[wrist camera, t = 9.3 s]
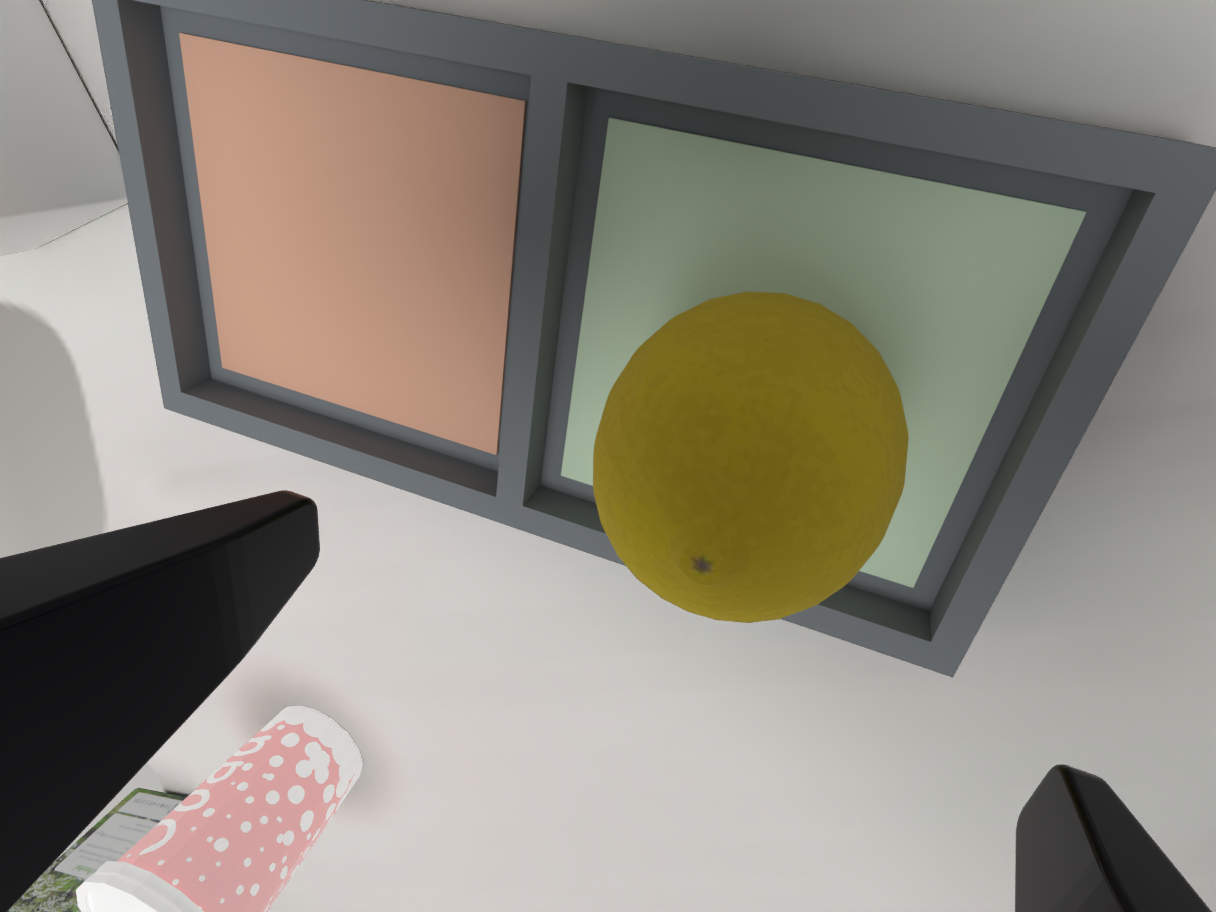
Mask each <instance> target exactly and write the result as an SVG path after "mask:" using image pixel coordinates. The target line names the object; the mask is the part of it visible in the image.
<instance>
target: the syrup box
mask: <svg viewBox="0 0 1216 912" xmlns="http://www.w3.org/2000/svg"><path fill="white" fill-rule="evenodd" d="M186 798H187V797H184V796H179V795H174V794H169V793H163V792H157V791H152V790H147V789H142V788H137V789H135V790H134V791H132V792H131V793H130V794H129V795H128V796H127V797H126V798H124V799H123V800H122V801H121V802H120V803H119V804H118V805H117V806H115V807H114V808H113V809H112V810H111V811H110V812H109V813H108V814H107V815H106V816H105V817H103V819H101V820H100V821H99V822H98V823H97V824H96V825H95V826H94V827H92V828H91V829H90V830H89V831H88V832H87V833H86V834H85V835H84V836H82V837H81V838H80V839H79V840H78V841H77V842H76V843H75V844H74V845H73V846H71V847H70V848H69V849H68V850H67V851H66V852H65V853H64V854H63V855H62V856H61V857H60V858H58V859H57V860H56V861H55V862H54V863H53V864H52V865H51V866H50V867H49V868H48V869H47V870H46V871H45V872H44V873H43V874H42V875H41V876H40V877H39V878H38V880H37V881H36V882H35V883H34V884H33V885H32V886H31V887H30V888H29V889H28V890H27V891H26V892H25V893H24V895H23V896H22V897H21V898H20V899H19V900H18V901H17V902H16V903H15V904H14V905H13V906H12V907H11V908H10V909H9V911H8V912H81V910H80V909H79V907H78V903H77V896H76V889H77V888H78V887H79V886H80V885H81V884H82V883H83V882H84V881H86V880H87V879H88V878H89V877H90V876H91V875H92V874H95V872H96V871H97V870H98V869H99V868H100V867H101V866H102V865H103V864H104V863H105V862H106V861H111V862H116V861H118V860H119V859H120V858H121V857H122V856H123V855H124V854H125V853H126V852H127V851H129V850H130V849H131V848H132V847H133V846H134V845H135V844H136V843H137V842H138V841H140V840H141V839H142V838H143V837H144V836H145V835H146V834H147V833H148V832H149V831H150V830H152V829H153V828H154V827H155V826H156V825H157V824H158V823H159V822H160V821H161V820H163V819H164V818H165V817H166V816H167V815H168V814H169V813H170V812H171V811H172V810H174V809H175V808H176V807H177V806H178V805H179V804H180V803H181V802H182V801H183V800H184V799H186Z"/></svg>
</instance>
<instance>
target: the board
mask: <svg viewBox="0 0 1216 912" xmlns="http://www.w3.org/2000/svg"><path fill="white" fill-rule="evenodd" d="M92 4H93V9H94V15H95V20H96V26H97V32H98V37H99V43H100V49H101V54H102V60H103V66H104V71H105V77H106V83H107V88H108V94H109V99H110V105H111V111H112V116H113V122H114V128H115V133H116V139H117V145H118V150H119V156H120V162H121V167H122V173H123V178H124V184H125V190H126V195H127V201H128V207H129V212H130V218H131V224H132V229H133V235H134V241H135V246H136V252H137V258H138V263H139V269H140V274H141V280H142V286H143V291H144V297H145V303H146V308H147V314H148V320H149V325H150V331H151V337H152V342H153V348H154V353H155V359H156V365H157V370H158V376H159V382H160V387H161V393H162V399H163V404H164V408H165V409H168V410H171V411H174V412H177V413H180V414H183V415H186V416H188V417H191V418H194V419H197V420H200V421H203V422H206V423H209V424H212V425H215V426H218V427H221V428H224V429H227V430H229V431H232V432H235V433H238V434H241V435H244V436H247V437H250V438H253V439H256V440H259V441H262V442H265V443H268V444H270V445H273V446H276V447H279V448H282V449H285V450H288V451H291V452H294V453H297V454H300V455H303V456H306V457H309V458H312V459H314V460H317V461H320V462H323V463H326V464H329V465H332V466H335V467H338V468H341V469H344V470H347V471H350V472H353V473H355V474H358V475H361V476H364V477H367V478H370V479H373V480H376V481H379V482H382V483H385V484H388V485H391V486H394V487H396V488H399V489H402V490H405V491H408V492H411V493H414V494H417V495H420V496H423V497H426V498H429V499H432V500H435V501H437V502H440V503H443V504H446V505H449V506H452V507H455V508H458V509H461V510H464V511H467V512H470V513H473V514H476V515H478V516H481V517H484V518H487V519H490V520H493V521H496V522H499V523H502V524H505V525H508V526H511V527H514V528H517V529H519V530H522V531H525V532H528V533H531V534H534V535H537V536H540V537H543V538H546V539H549V540H552V541H555V542H558V543H560V544H563V545H566V546H569V547H572V548H575V549H578V550H581V551H584V552H587V553H590V554H593V555H596V556H599V557H602V558H604V559H607V560H610V561H613V562H616V563H619V564H622V565H625V564H624V563H623V562H622V560H621V559H620V558H619V557H618V555H617V553H616V551H615V550H614V548H613V546H612V544H611V542H610V540H609V538H608V536H607V534H606V533H605V531H604V528H603V526H602V524H601V521H600V517H599V513H598V509H597V505H596V501H595V497H594V490H593V452H594V443H595V438H596V434H597V431H598V427H599V424H600V421H601V417H602V414H603V410H604V407H605V404H606V401H607V398H608V395H609V392H610V390H611V389H612V387H613V385H614V383H615V382H616V380H617V378H618V377H619V375H620V374H621V372H622V371H623V369H624V368H625V366H626V365H627V363H628V362H629V360H630V358H631V357H632V355H633V354H634V353H635V351H636V350H637V349H638V348H639V347H640V346H641V345H642V344H643V343H644V342H645V341H646V340H647V339H648V338H650V337H651V336H652V335H653V334H654V333H655V332H656V331H658V330H659V329H660V328H661V327H662V326H663V325H664V324H665V323H667V322H668V321H669V320H670V319H672V318H673V317H675V316H677V315H679V314H681V313H683V312H685V311H687V310H689V309H691V308H693V307H695V306H697V305H699V304H701V303H703V302H705V301H707V300H710V299H713V298H717V297H722V296H727V295H732V294H737V293H742V292H747V291H749V292H770V293H786V294H789V295H792V296H796V297H799V298H802V299H806V300H809V301H813V302H816V303H819V304H821V305H823V306H824V307H826V308H828V309H829V310H831V311H833V312H834V313H836V314H838V315H839V316H841V317H842V318H844V319H846V320H847V321H849V322H851V323H852V324H853V325H854V326H855V327H856V328H857V329H858V330H859V331H860V332H861V333H862V334H863V335H864V336H865V337H866V338H867V339H868V341H869V342H870V343H871V344H872V345H873V346H874V347H875V348H876V349H877V350H878V352H879V353H880V355H881V356H882V358H883V360H884V362H885V364H886V366H887V368H888V369H889V371H890V373H891V375H892V377H893V379H894V380H895V382H896V384H897V386H898V388H899V391H900V395H901V400H902V404H903V409H904V414H905V419H906V424H907V428H908V436H909V441H908V452H907V462H906V473H905V484H904V488H903V492H902V495H901V497H900V500H899V502H898V505H897V507H896V509H895V512H894V514H893V517H892V519H891V522H890V524H889V526H888V529H887V531H886V534H885V536H884V538H883V540H882V541H881V543H880V545H879V546H878V548H877V549H876V550H875V552H874V553H873V554H872V556H871V557H870V558H869V559H868V560H867V562H866V563H865V564H864V565H863V567H862V568H861V569H860V570H859V571H858V573H857V574H856V575H855V576H854V577H853V579H852V580H851V581H850V582H848V583H847V584H846V585H845V586H844V587H843V588H841V589H840V590H838V591H837V592H835V593H834V594H832V595H831V596H829V597H828V598H826V599H825V600H823V601H822V602H820V603H819V604H818V605H816V606H813V607H811V608H808V609H805V610H803V611H800V612H797V613H794V614H792V615H789V616H786V617H784V618H781V619H783V620H786V621H789V622H792V623H795V624H798V625H801V626H804V627H807V628H809V629H812V630H815V631H818V632H821V633H824V634H827V635H830V636H833V637H836V638H839V639H842V640H845V641H848V642H850V643H853V644H856V645H859V646H862V647H865V648H868V649H871V650H874V651H877V652H880V653H883V654H886V655H889V656H891V657H894V658H897V659H900V660H903V661H906V662H909V663H912V664H915V665H918V666H921V667H924V668H927V669H930V670H933V671H935V672H938V673H941V674H944V675H947V676H950V677H953V676H954V674H955V672H956V671H957V669H958V667H959V665H960V663H961V661H962V659H963V658H964V656H965V654H966V652H967V650H968V648H969V647H970V645H971V643H972V641H973V639H974V637H975V635H976V634H977V632H978V630H979V628H980V626H981V624H982V622H983V621H984V619H985V617H986V615H987V613H988V611H989V609H990V608H991V606H992V604H993V602H994V600H995V598H996V596H997V595H998V593H999V591H1000V589H1001V587H1002V585H1003V583H1004V582H1005V580H1006V578H1007V576H1008V574H1009V572H1010V570H1011V569H1012V567H1013V565H1014V563H1015V561H1016V559H1017V558H1018V556H1019V554H1020V552H1021V550H1022V548H1023V546H1024V545H1025V543H1026V541H1027V539H1028V537H1029V535H1030V533H1031V532H1032V530H1033V528H1034V526H1035V524H1036V522H1037V520H1038V519H1039V517H1040V515H1041V513H1042V511H1043V509H1044V507H1045V506H1046V504H1047V502H1048V500H1049V498H1050V496H1051V494H1052V493H1053V491H1054V489H1055V487H1056V485H1057V483H1058V482H1059V480H1060V478H1061V476H1062V474H1063V472H1064V470H1065V469H1066V467H1067V465H1068V463H1069V461H1070V459H1071V457H1072V456H1073V454H1074V452H1075V450H1076V448H1077V446H1078V444H1079V443H1080V441H1081V439H1082V437H1083V435H1084V433H1085V431H1086V430H1087V428H1088V426H1089V424H1090V422H1091V420H1092V418H1093V417H1094V415H1095V413H1096V411H1097V409H1098V407H1099V405H1100V404H1101V402H1102V400H1103V398H1104V396H1105V394H1106V393H1107V391H1108V389H1109V387H1110V385H1111V383H1112V381H1113V380H1114V378H1115V376H1116V374H1117V372H1118V370H1119V368H1120V367H1121V365H1122V363H1123V361H1124V359H1125V357H1126V355H1127V354H1128V352H1129V350H1130V348H1131V346H1132V344H1133V342H1134V341H1135V339H1136V337H1137V335H1138V333H1139V331H1140V329H1141V328H1142V326H1143V324H1144V322H1145V320H1146V318H1147V317H1148V315H1149V313H1150V311H1151V309H1152V307H1153V305H1154V304H1155V302H1156V300H1157V298H1158V296H1159V294H1160V292H1161V291H1162V289H1163V287H1164V285H1165V283H1166V281H1167V279H1168V278H1169V276H1170V274H1171V272H1172V270H1173V268H1174V266H1175V265H1176V263H1177V261H1178V259H1179V257H1180V255H1181V253H1182V252H1183V250H1184V248H1185V246H1186V244H1187V242H1188V241H1189V239H1190V237H1191V235H1192V233H1193V231H1194V229H1195V228H1196V226H1197V224H1198V222H1199V220H1200V218H1201V216H1202V215H1203V213H1204V211H1205V209H1206V207H1207V205H1208V203H1209V202H1210V200H1211V198H1212V196H1213V194H1214V192H1215V190H1216V148H1215V147H1210V146H1205V145H1201V144H1196V143H1191V142H1185V141H1180V140H1174V139H1168V138H1162V137H1156V136H1151V135H1145V134H1139V133H1133V132H1127V131H1122V130H1116V129H1110V128H1104V127H1099V126H1093V125H1087V124H1081V123H1075V122H1070V121H1064V120H1058V119H1052V118H1046V117H1041V116H1035V115H1029V114H1023V113H1017V112H1012V111H1006V110H1000V109H994V108H989V107H983V106H977V105H971V104H965V103H960V102H954V101H948V100H942V99H936V98H931V97H925V96H919V95H913V94H907V93H902V92H896V91H890V90H884V89H879V88H873V87H867V86H861V85H855V84H850V83H844V82H838V81H832V80H826V79H821V78H815V77H809V76H803V75H797V74H792V73H786V72H780V71H774V70H769V69H763V68H757V67H751V66H745V65H740V64H734V63H728V62H722V61H716V60H711V59H705V58H699V57H693V56H687V55H682V54H676V53H670V52H664V51H659V50H653V49H647V48H641V47H635V46H630V45H624V44H618V43H612V42H606V41H601V40H595V39H589V38H583V37H578V36H572V35H566V34H560V33H554V32H549V31H543V30H537V29H531V28H525V27H520V26H514V25H508V24H502V23H496V22H491V21H485V20H479V19H473V18H468V17H462V16H456V15H450V14H444V13H439V12H433V11H427V10H421V9H415V8H410V7H404V6H398V5H392V4H386V3H381V2H375V1H369V0H92ZM625 566H626V565H625Z"/></svg>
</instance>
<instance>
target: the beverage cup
mask: <svg viewBox="0 0 1216 912" xmlns="http://www.w3.org/2000/svg"><path fill="white" fill-rule="evenodd" d="M362 767H363V762H362V758H361V754H360V751H359V749H358V747H357V746H356V744H355V743H354V741H353V740H352V738H351V737H350V735H349V734H348V733H347V732H346V731H345V730H344V729H343V728H342V727H341V726H340V725H339V724H337V723H336V722H335V721H334V720H333V719H331V718H329V717H328V716H326V715H324V714H323V713H321V712H319V711H317V710H315V709H311V708H308V707H304V706H300V705H298V706H289V707H286V708H284V709H283V710H282V711H281V712H280V713H279V714H278V715H277V716H276V717H274V718H273V719H272V720H271V721H270V722H269V723H268V724H267V725H266V726H265V727H263V728H262V729H261V730H260V731H259V732H258V733H257V734H256V735H255V736H254V737H253V738H251V739H250V740H249V741H248V742H247V743H246V744H245V745H244V746H243V747H242V748H240V749H239V750H238V751H237V752H236V753H235V754H234V755H233V756H232V757H231V758H229V759H228V760H227V761H226V762H225V763H224V764H223V765H222V766H221V767H220V768H219V769H217V770H216V771H215V772H214V773H213V774H212V775H211V776H210V777H209V778H208V779H206V780H205V781H204V782H203V783H202V784H201V785H200V786H199V787H198V788H197V789H195V790H194V791H193V792H192V793H191V794H190V795H189V796H188V797H187V798H186V799H184V800H183V801H182V802H181V803H180V804H179V805H178V806H177V807H176V808H175V809H174V810H172V811H171V812H170V813H169V814H168V815H167V816H166V817H165V818H164V819H163V820H161V821H160V822H159V823H158V824H157V825H156V826H155V827H154V828H153V829H152V830H150V831H149V832H148V833H147V834H146V835H145V836H144V837H143V838H142V839H141V840H140V841H138V842H137V843H136V844H135V845H134V846H133V847H132V848H131V849H130V850H129V851H127V852H126V853H125V854H124V855H123V856H122V857H121V858H120V859H119V860H118V861H116V862H111V861H106V862H105V863H104V864H103V865H102V866H101V867H100V868H99V869H98V870H97V871H96V872H95V874H92V875H91V876H90V877H89V878H88V879H87V880H86V881H84V882H83V883H82V884H81V885H80V886H79V887H78V888H77V889H76V896H77V903H78V907H79V909H80V910H81V912H268V910H269V909H270V907H271V906H272V904H273V903H274V902H275V900H276V899H277V897H278V896H279V894H280V893H281V891H282V890H283V888H284V887H285V885H286V884H287V882H288V881H289V879H290V878H291V877H292V875H293V874H294V872H295V871H296V869H297V868H298V866H299V865H300V863H301V862H302V860H303V859H304V857H305V856H306V855H307V853H308V852H309V850H310V849H311V847H312V846H313V844H314V843H315V841H316V840H317V838H318V837H319V835H320V834H321V833H322V831H323V830H324V828H325V827H326V825H327V824H328V822H329V821H330V819H331V818H332V816H333V815H334V813H335V812H336V811H337V809H338V808H339V806H340V805H341V803H342V802H343V800H344V799H345V797H346V796H347V794H348V793H349V791H350V790H351V789H352V787H353V786H354V784H355V783H356V781H357V780H358V778H359V777H360V775H361V771H362Z"/></svg>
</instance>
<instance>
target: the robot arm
mask: <svg viewBox="0 0 1216 912" xmlns="http://www.w3.org/2000/svg"><path fill="white" fill-rule="evenodd" d="M319 552H320V542H319V527H318V512H317V506H316V504H315V502H314V501H313V500H312V499H310V498H308V497H305V496H302V495H300V494H297V493H294V492H291V491H284V490H283V491H278V492H273V493H269V494H265V495H261V496H257V497H253V498H249V499H244V500H240V501H236V502H232V503H228V504H224V505H219V506H215V507H211V508H207V509H203V510H199V511H195V512H190V513H186V514H182V515H178V516H174V517H170V518H165V519H161V520H157V521H153V522H149V523H145V524H141V525H136V526H132V527H128V528H124V529H120V530H116V531H111V532H107V533H103V534H99V535H95V536H91V537H87V538H83V539H78V540H74V541H70V542H66V543H62V544H57V545H53V546H49V547H45V548H41V549H37V550H33V551H28V552H25V553H20V554H16V555H12V556H8V557H3V558H0V912H8V911H9V909H10V908H11V907H12V906H13V905H14V904H15V903H16V902H17V901H18V900H19V899H20V898H21V897H22V896H23V895H24V893H25V892H26V891H27V890H28V889H29V888H30V887H31V886H32V885H33V884H34V883H35V882H36V881H37V880H38V878H39V877H40V876H41V875H42V874H43V873H44V872H45V871H46V870H47V869H48V868H49V867H50V866H51V865H52V863H53V862H54V861H55V860H56V859H57V858H58V857H59V856H60V855H61V854H62V853H63V852H64V851H65V850H66V848H67V847H68V846H69V845H70V844H71V843H72V842H73V841H74V840H75V839H76V838H77V837H78V836H79V834H80V833H81V832H82V831H83V830H84V829H85V828H86V827H87V826H88V825H89V824H90V823H91V822H92V821H93V820H94V818H95V817H96V816H97V815H98V814H99V813H100V812H101V811H102V810H103V809H104V808H105V807H106V806H107V804H108V803H109V802H110V801H111V800H112V799H113V798H114V797H115V796H116V795H117V794H118V793H119V792H120V791H121V790H122V788H123V787H124V786H125V785H126V784H127V783H128V782H129V781H130V780H131V779H132V778H133V777H134V776H135V775H136V774H137V772H138V771H139V770H140V769H141V768H142V767H143V766H144V765H145V764H146V763H147V762H148V761H149V760H150V759H151V757H152V756H153V755H154V754H155V753H156V752H157V751H158V750H159V749H160V748H161V747H162V746H163V745H164V744H165V742H166V741H167V740H168V739H169V738H170V737H171V736H172V735H173V734H174V733H175V732H176V731H177V730H178V729H179V727H180V726H181V725H182V724H183V723H184V722H185V721H186V720H187V719H188V718H189V717H190V716H191V715H192V714H193V713H194V711H195V710H196V709H197V708H198V707H199V706H200V705H201V704H202V703H203V702H204V701H205V700H206V699H207V698H208V696H209V695H210V694H211V693H212V692H213V691H214V690H215V689H216V688H217V687H218V686H219V685H220V684H221V683H222V681H223V680H224V679H225V678H226V677H227V676H228V675H229V674H230V673H231V672H232V671H233V669H234V668H235V667H236V666H237V665H238V664H239V663H240V662H241V660H242V659H243V658H244V657H245V656H246V654H247V653H248V652H249V651H250V650H251V648H252V647H253V646H254V645H255V643H256V642H257V641H258V640H259V638H260V637H261V636H262V634H263V633H264V632H265V630H266V629H267V628H268V626H269V625H270V624H271V623H272V621H273V620H274V619H275V617H276V616H277V615H278V613H279V612H280V611H281V609H282V608H283V607H284V606H285V604H286V603H287V602H288V600H289V599H290V598H291V596H292V595H293V594H294V592H295V591H296V590H297V589H298V587H299V586H300V585H301V583H302V582H303V581H304V579H305V578H306V577H307V575H308V574H309V573H310V572H311V570H312V569H313V567H314V566H315V564H316V562H317V559H318V557H319ZM1015 912H1212V911H1211V910H1210V909H1209V908H1208V907H1207V905H1206V904H1205V903H1204V902H1203V900H1202V899H1201V898H1200V897H1199V895H1198V894H1197V893H1196V892H1195V891H1194V889H1193V888H1192V887H1191V886H1190V884H1189V883H1188V882H1187V881H1186V879H1185V878H1184V877H1183V876H1182V875H1181V873H1180V872H1179V871H1178V870H1177V868H1176V867H1175V866H1174V865H1173V863H1172V862H1171V861H1170V860H1169V859H1168V857H1167V856H1166V855H1165V854H1164V852H1163V851H1162V850H1161V849H1160V847H1159V846H1158V845H1157V844H1156V843H1155V841H1154V840H1153V839H1152V838H1151V836H1150V835H1149V834H1148V833H1147V831H1146V830H1145V829H1144V828H1143V827H1142V825H1141V824H1140V823H1139V822H1138V820H1137V819H1136V818H1135V817H1134V815H1133V814H1132V813H1131V812H1130V811H1129V809H1128V808H1127V807H1126V806H1125V804H1124V803H1123V802H1122V801H1121V799H1120V798H1119V797H1118V796H1117V795H1116V793H1115V792H1114V791H1113V790H1112V788H1111V787H1110V786H1109V785H1108V784H1107V783H1106V782H1105V781H1104V780H1103V779H1102V778H1100V777H1098V776H1096V775H1093V774H1090V773H1087V772H1085V771H1082V770H1079V769H1076V768H1073V767H1070V766H1068V765H1056V766H1054V767H1053V768H1052V769H1051V770H1050V771H1049V772H1048V773H1047V775H1046V776H1045V777H1044V779H1043V780H1042V782H1041V783H1040V785H1039V786H1038V787H1037V789H1036V790H1035V792H1034V793H1033V795H1032V796H1031V797H1030V799H1029V800H1028V802H1027V803H1026V805H1025V806H1024V807H1023V809H1022V811H1021V813H1020V815H1019V818H1018V822H1017V828H1016V873H1015Z"/></svg>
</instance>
